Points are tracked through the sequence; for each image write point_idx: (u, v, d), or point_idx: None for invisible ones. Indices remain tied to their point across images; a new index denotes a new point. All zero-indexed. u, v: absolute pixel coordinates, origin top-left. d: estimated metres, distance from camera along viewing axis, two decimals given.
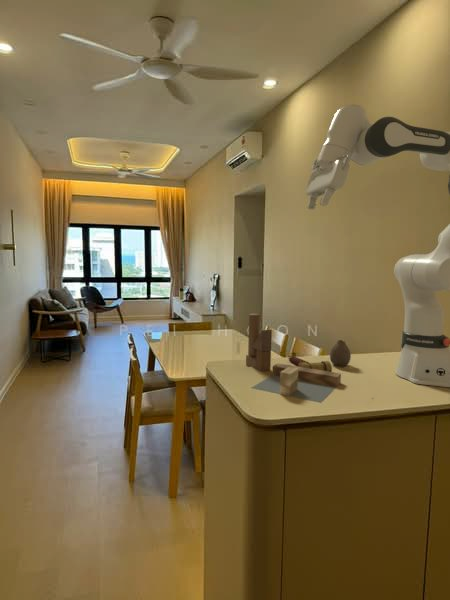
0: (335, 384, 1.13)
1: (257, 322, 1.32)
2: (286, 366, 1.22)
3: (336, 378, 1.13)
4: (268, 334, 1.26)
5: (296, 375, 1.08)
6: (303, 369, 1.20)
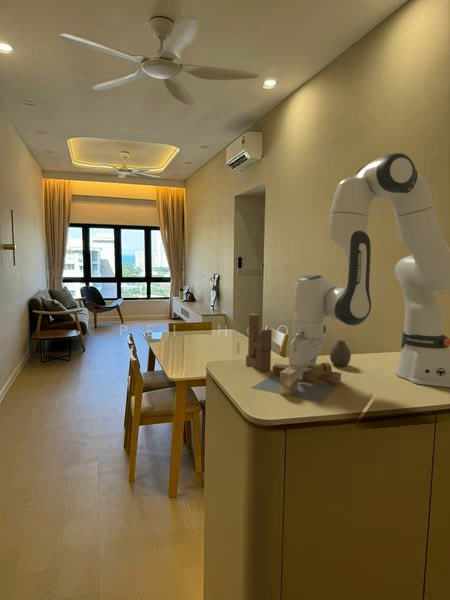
0: (336, 383, 1.14)
1: (257, 322, 1.32)
2: (286, 366, 1.22)
3: (337, 377, 1.13)
4: (267, 334, 1.26)
5: (296, 375, 1.08)
6: (303, 368, 1.20)
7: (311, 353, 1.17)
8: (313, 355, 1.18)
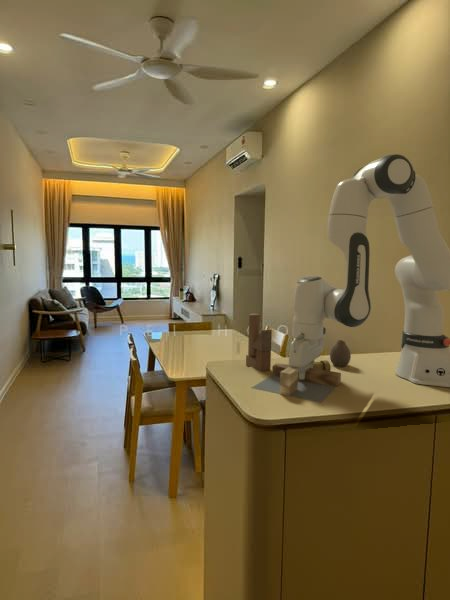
0: (335, 383, 1.13)
1: (257, 322, 1.32)
2: (286, 366, 1.22)
3: (336, 377, 1.13)
4: (268, 334, 1.26)
5: (296, 375, 1.08)
6: None
7: (311, 354, 1.17)
8: (313, 356, 1.18)
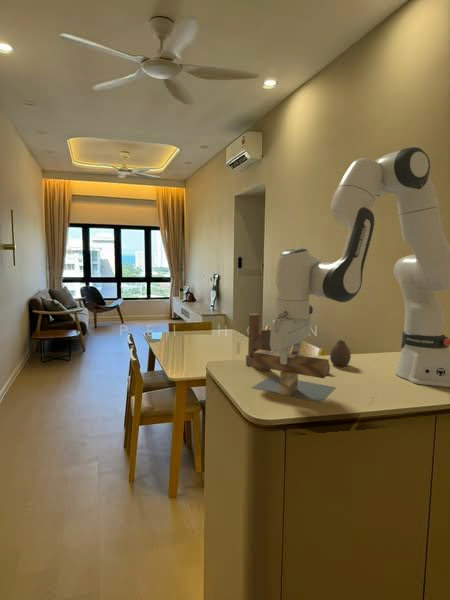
0: (322, 371, 1.01)
1: (257, 322, 1.32)
2: (268, 352, 1.10)
3: (323, 364, 1.01)
4: (268, 334, 1.26)
5: (296, 375, 1.08)
6: (287, 355, 1.08)
7: (296, 335, 1.05)
8: (298, 338, 1.06)
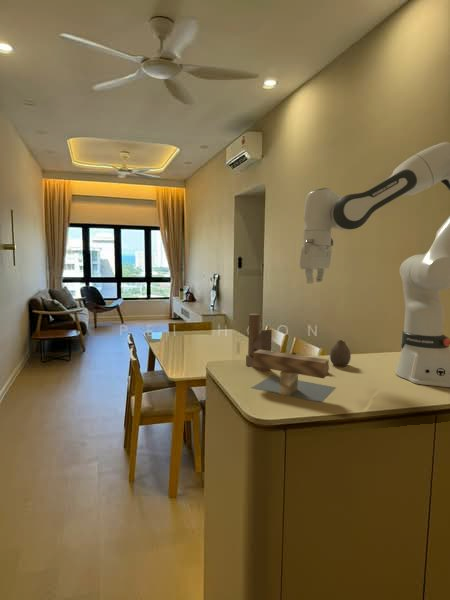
0: (322, 371, 1.01)
1: (257, 322, 1.32)
2: (268, 352, 1.10)
3: (323, 364, 1.01)
4: (267, 334, 1.26)
5: (296, 375, 1.08)
6: (287, 355, 1.08)
7: (320, 261, 1.27)
8: (321, 263, 1.29)
